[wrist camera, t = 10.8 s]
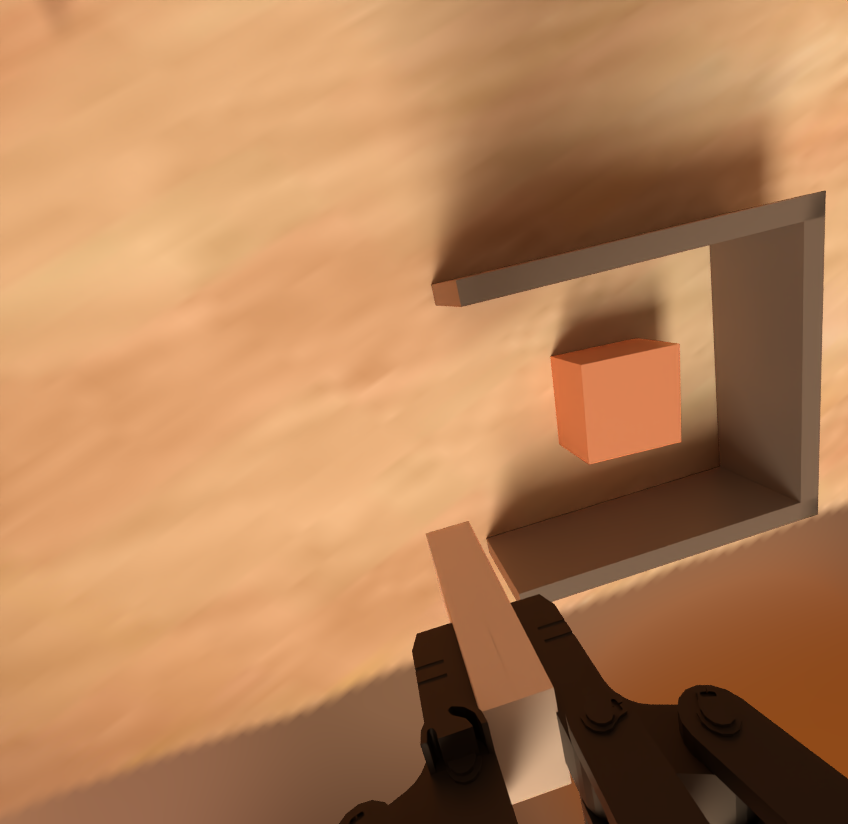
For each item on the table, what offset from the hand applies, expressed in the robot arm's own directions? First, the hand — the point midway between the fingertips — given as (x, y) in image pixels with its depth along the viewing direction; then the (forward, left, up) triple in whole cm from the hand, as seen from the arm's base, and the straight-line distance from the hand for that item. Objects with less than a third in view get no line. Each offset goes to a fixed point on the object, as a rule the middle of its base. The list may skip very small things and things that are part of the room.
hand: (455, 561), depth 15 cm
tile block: (-13, 0, -13) cm, 19 cm away
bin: (-13, 0, -13) cm, 19 cm away
